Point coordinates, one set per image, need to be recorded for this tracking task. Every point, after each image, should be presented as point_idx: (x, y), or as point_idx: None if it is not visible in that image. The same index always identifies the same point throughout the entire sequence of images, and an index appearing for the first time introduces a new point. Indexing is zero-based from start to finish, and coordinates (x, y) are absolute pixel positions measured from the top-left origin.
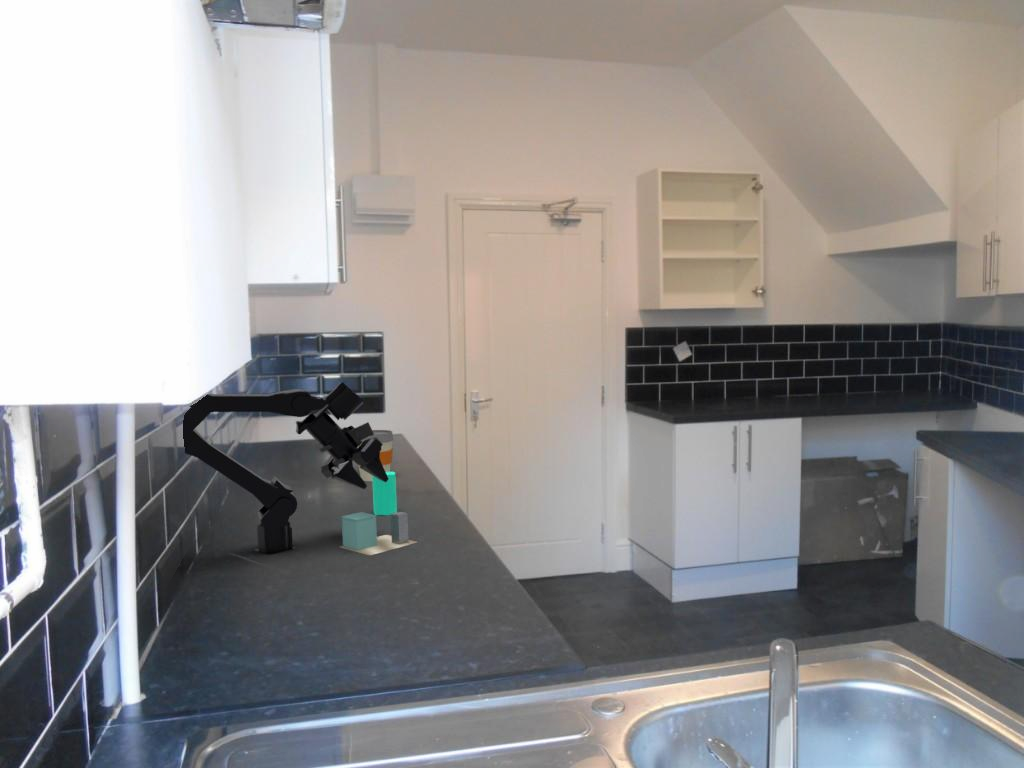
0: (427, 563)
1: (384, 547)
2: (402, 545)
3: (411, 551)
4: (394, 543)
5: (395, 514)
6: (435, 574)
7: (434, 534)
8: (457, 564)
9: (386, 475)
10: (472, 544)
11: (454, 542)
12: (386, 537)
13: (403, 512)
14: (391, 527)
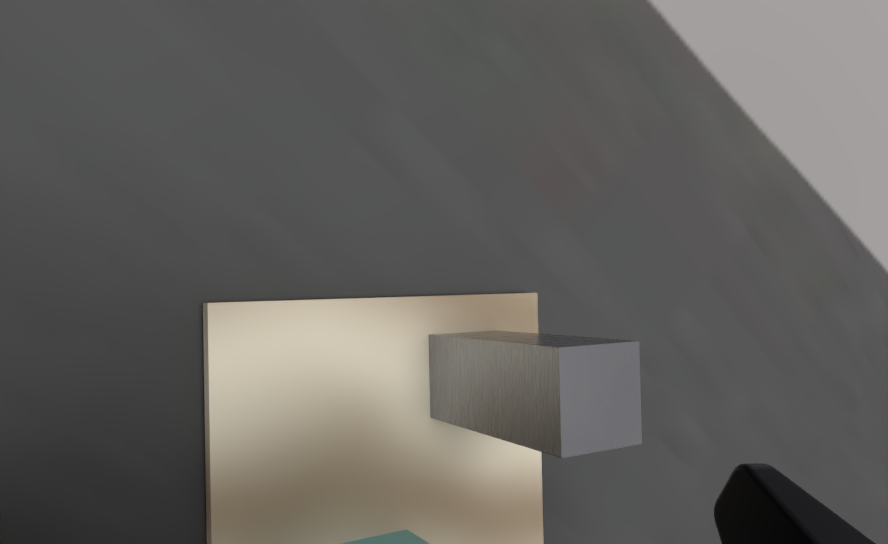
0: None
1: (482, 518)
2: None
3: None
4: None
5: (605, 440)
6: None
7: (420, 39)
8: (831, 386)
9: (828, 520)
10: (701, 106)
11: (624, 126)
12: (288, 360)
13: (598, 344)
14: (493, 435)
